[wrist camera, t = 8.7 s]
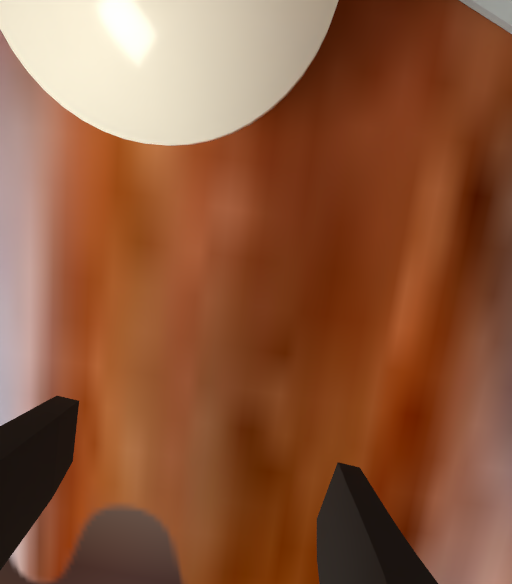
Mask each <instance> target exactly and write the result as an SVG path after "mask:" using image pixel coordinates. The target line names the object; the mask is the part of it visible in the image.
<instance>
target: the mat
mask: <svg viewBox="0 0 512 584" xmlns="http://www.w3.org/2000/svg"><path fill="white" fill-rule="evenodd" d="M459 1H461V2H462V3H464V4H466V5H467V6H469V7H470V8H472V9H473V10H475V11H477V12H478V13H480V14H481V15H483V16H484V17H486V18H487V19H489V20H491V21H492V22H494V23H495V24H497V25H498V26H500V27H502V28H503V29H505V30H506V31H508V32H509V33H511V34H512V0H459Z"/></svg>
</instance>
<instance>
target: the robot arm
mask: <svg viewBox="0 0 512 584" xmlns="http://www.w3.org/2000/svg"><path fill="white" fill-rule="evenodd" d="M78 406H79V401H77V400H73V399H69V398H65V397H60V396H56V397H54V398H52V399H50V400H48V401H46V402H44V403H42V404H40V405H39V406H37V407H35V408H33V409H31V410H30V411H28V412H26V413H24V414H22V415H20V416H18V417H17V418H15V419H13V420H11V421H9V422H7V423H5V424H4V425H2V426H0V570H1V569H2V567H3V566H4V565H5V563H6V562H7V560H8V559H9V558H10V556H11V555H12V553H13V552H14V551H15V549H16V548H17V546H18V545H19V544H20V542H21V541H22V539H23V538H24V537H25V535H26V534H27V533H28V531H29V530H30V528H31V527H32V526H33V524H34V523H35V521H36V520H37V519H38V517H39V516H40V514H41V513H42V511H43V510H44V509H45V507H46V506H47V504H48V503H49V502H50V500H51V499H52V497H53V496H54V494H55V492H56V490H57V488H58V487H59V485H60V483H61V481H62V480H63V478H64V476H65V474H66V472H67V470H68V469H69V467H70V465H71V463H72V461H73V452H74V443H75V434H76V425H77V415H78ZM317 563H318V572H319V581H320V584H438V583H437V581H436V580H435V579H434V578H433V576H432V575H431V573H430V572H429V571H428V569H427V568H426V567H425V565H424V564H423V563H422V561H421V560H420V559H419V557H418V556H417V555H416V553H415V552H414V550H413V549H412V547H411V546H410V545H409V543H408V542H407V540H406V539H405V537H404V536H403V534H402V533H401V532H400V530H399V529H398V527H397V526H396V524H395V523H394V521H393V519H392V518H391V516H390V515H389V513H388V512H387V510H386V509H385V507H384V505H383V504H382V502H381V501H380V499H379V498H378V496H377V494H376V493H375V491H374V490H373V488H372V486H371V485H370V483H369V482H368V480H367V478H366V477H365V475H364V474H363V472H362V471H361V469H360V468H359V467H355V466H351V465H346V464H342V463H337V466H336V469H335V471H334V474H333V477H332V480H331V482H330V485H329V488H328V490H327V493H326V496H325V499H324V501H323V504H322V507H321V509H320V512H319V515H318V518H317Z"/></svg>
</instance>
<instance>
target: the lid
mask: <svg viewBox="0 0 512 584" xmlns="http://www.w3.org/2000/svg"><path fill="white" fill-rule="evenodd" d="M338 1H339V0H0V30H1V31H2V33H3V35H4V37H5V38H6V40H7V42H8V44H9V45H10V47H11V49H12V51H13V52H14V53H15V55H16V56H17V57H18V59H19V60H20V62H21V63H22V64H23V66H24V67H25V69H26V70H27V71H28V73H29V74H30V75H31V76H32V77H33V78H34V79H35V80H36V81H37V83H38V84H39V85H40V86H41V87H42V88H43V89H44V90H45V91H46V92H47V93H48V94H49V95H50V96H51V97H53V98H54V99H55V100H56V101H57V102H58V103H59V104H60V105H62V106H63V107H64V108H66V109H67V110H68V111H70V112H71V113H73V114H74V115H76V116H77V117H78V118H80V119H81V120H83V121H85V122H87V123H89V124H91V125H92V126H94V127H96V128H98V129H100V130H102V131H104V132H107V133H110V134H112V135H115V136H118V137H120V138H123V139H127V140H132V141H136V142H141V143H145V144H157V145H169V146H178V145H194V144H199V143H204V142H209V141H214V140H216V139H219V138H222V137H225V136H228V135H231V134H233V133H235V132H237V131H239V130H241V129H243V128H245V127H247V126H249V125H251V124H252V123H254V122H255V121H257V120H258V119H259V118H261V117H262V116H264V115H265V114H267V113H268V112H269V111H271V110H272V109H273V108H274V107H275V106H276V105H277V104H278V103H279V102H280V101H281V100H283V99H284V98H285V97H286V96H287V95H288V93H289V92H290V91H291V90H292V89H293V88H294V86H295V85H296V84H297V83H298V82H299V80H300V79H301V78H302V77H303V75H304V74H305V72H306V70H307V69H308V67H309V66H310V64H311V63H312V61H313V60H314V58H315V57H316V54H317V52H318V50H319V48H320V46H321V44H322V42H323V40H324V38H325V36H326V34H327V32H328V29H329V26H330V23H331V21H332V18H333V15H334V12H335V9H336V7H337V4H338Z"/></svg>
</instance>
